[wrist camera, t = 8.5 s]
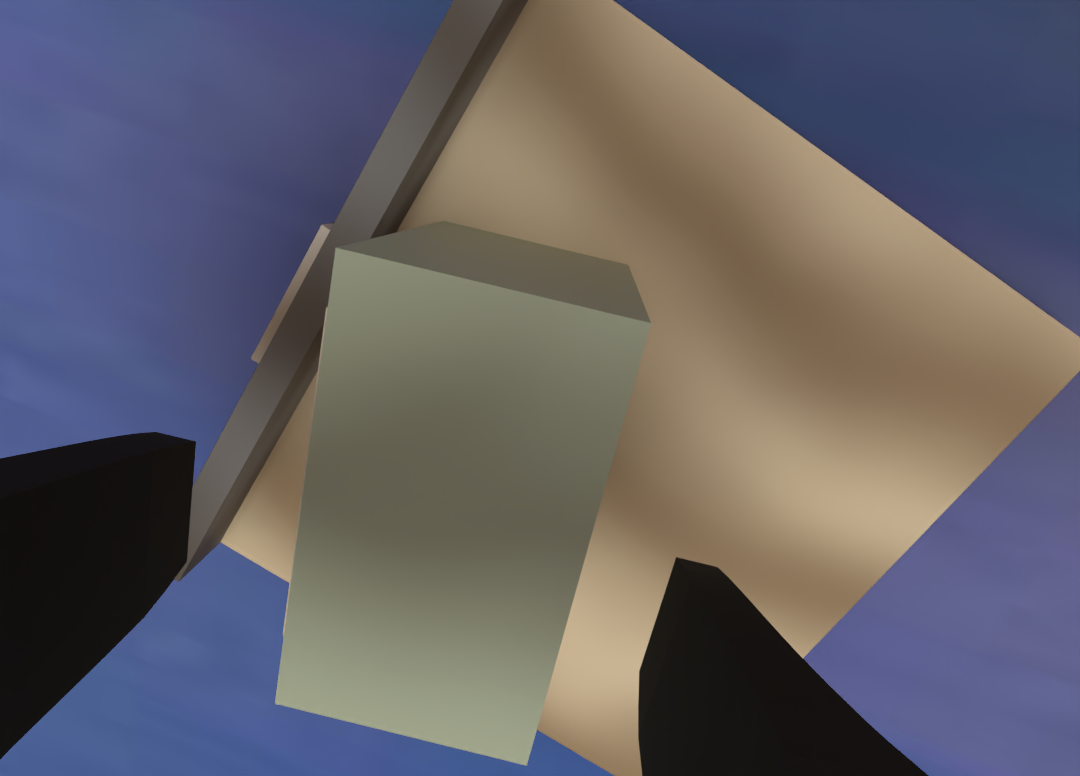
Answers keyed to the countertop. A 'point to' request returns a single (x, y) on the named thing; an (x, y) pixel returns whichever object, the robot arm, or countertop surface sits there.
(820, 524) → the wooden serving tray
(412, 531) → the carton
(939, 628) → the countertop surface
